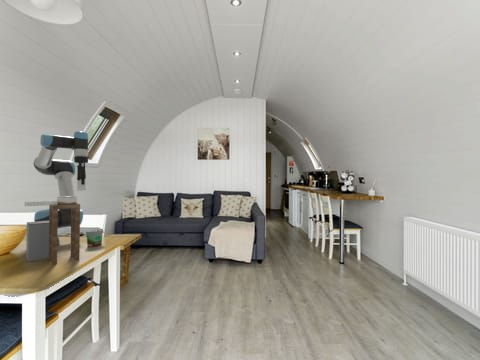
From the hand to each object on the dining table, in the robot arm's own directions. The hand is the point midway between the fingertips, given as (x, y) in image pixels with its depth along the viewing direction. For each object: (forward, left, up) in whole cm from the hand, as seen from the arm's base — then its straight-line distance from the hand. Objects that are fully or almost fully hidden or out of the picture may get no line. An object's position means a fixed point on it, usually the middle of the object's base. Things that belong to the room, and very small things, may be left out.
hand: (81, 190), depth 157 cm
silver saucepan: (+18, -17, -7) cm, 26 cm away
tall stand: (+18, -12, -37) cm, 42 cm away
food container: (-2, +10, -37) cm, 38 cm away
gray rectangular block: (+5, -21, -37) cm, 42 cm away
